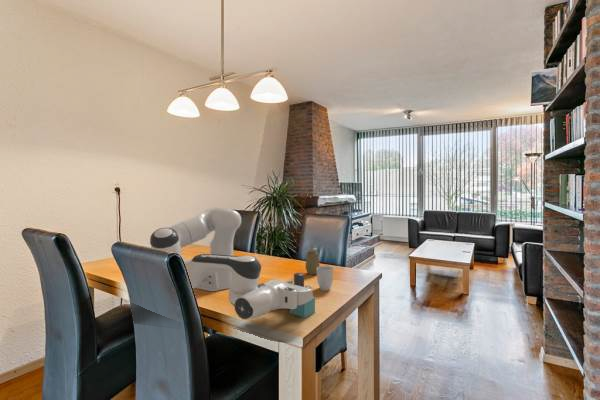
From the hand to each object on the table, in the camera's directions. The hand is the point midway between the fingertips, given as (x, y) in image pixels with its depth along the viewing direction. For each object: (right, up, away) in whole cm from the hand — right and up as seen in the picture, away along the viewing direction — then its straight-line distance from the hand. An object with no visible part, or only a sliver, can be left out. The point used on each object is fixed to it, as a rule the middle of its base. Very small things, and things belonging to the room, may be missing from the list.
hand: (300, 285), depth 120 cm
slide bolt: (-4, -9, +3) cm, 11 cm away
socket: (+1, -11, -1) cm, 11 cm away
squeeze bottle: (+7, -8, +51) cm, 52 cm away
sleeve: (-14, -10, +11) cm, 21 cm away
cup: (+12, -9, +26) cm, 30 cm away
